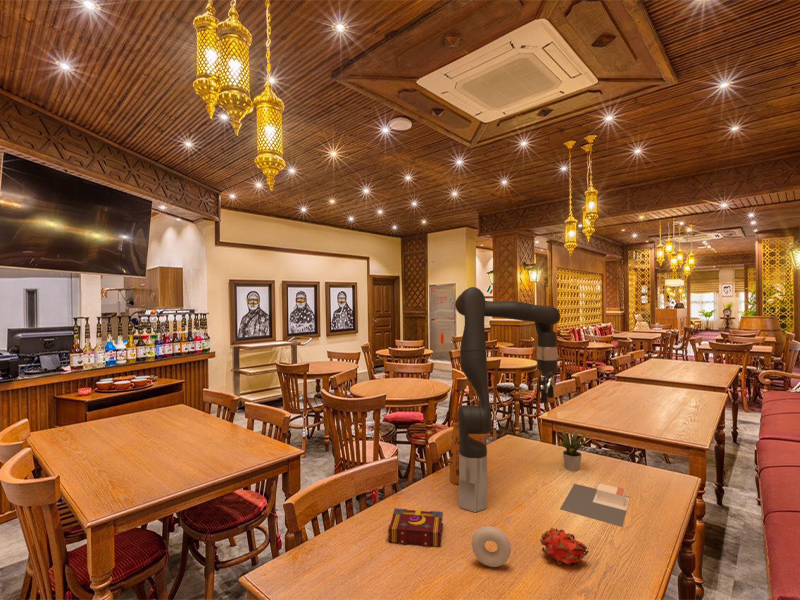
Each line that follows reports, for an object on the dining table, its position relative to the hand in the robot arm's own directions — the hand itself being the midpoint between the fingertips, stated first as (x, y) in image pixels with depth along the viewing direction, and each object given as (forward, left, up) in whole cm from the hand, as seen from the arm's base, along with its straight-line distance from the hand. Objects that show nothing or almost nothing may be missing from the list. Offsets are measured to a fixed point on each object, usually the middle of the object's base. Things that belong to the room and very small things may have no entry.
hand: (547, 399), depth 155 cm
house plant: (+13, -7, -30) cm, 34 cm away
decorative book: (-60, +22, -31) cm, 71 cm away
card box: (-7, -23, -29) cm, 38 cm away
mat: (-12, -19, -30) cm, 37 cm away
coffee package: (-20, +25, -30) cm, 44 cm away
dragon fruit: (-48, -17, -30) cm, 59 cm away
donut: (-61, -2, -30) cm, 68 cm away
